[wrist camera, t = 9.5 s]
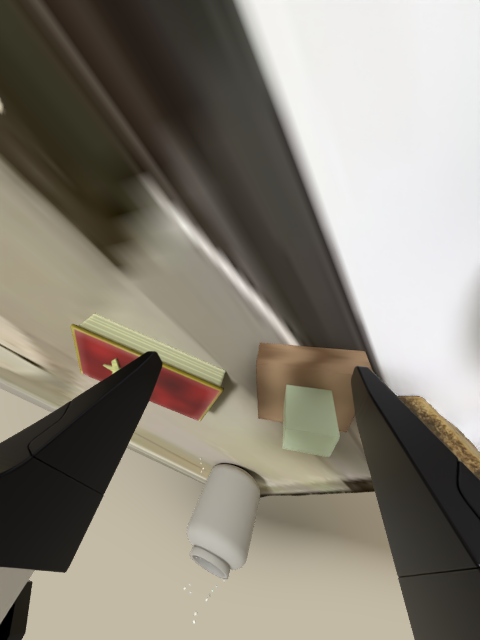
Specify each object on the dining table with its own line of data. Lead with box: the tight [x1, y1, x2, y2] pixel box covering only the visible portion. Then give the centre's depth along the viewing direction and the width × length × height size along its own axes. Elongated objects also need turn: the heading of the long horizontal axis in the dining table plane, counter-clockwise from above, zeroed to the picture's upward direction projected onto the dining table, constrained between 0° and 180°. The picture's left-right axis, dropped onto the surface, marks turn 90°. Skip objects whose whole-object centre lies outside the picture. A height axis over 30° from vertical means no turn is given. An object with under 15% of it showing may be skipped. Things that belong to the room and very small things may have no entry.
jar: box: [184, 458, 260, 624], centre depth 47 cm, size 19×15×25 cm
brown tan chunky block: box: [398, 396, 480, 479], centre depth 25 cm, size 11×9×10 cm
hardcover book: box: [71, 313, 226, 421], centre depth 31 cm, size 12×21×4 cm, turn 66°
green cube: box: [282, 385, 340, 457], centre depth 23 cm, size 5×5×5 cm
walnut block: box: [256, 343, 372, 432], centre depth 26 cm, size 12×12×4 cm
